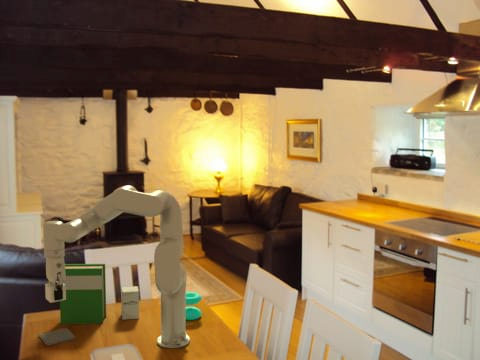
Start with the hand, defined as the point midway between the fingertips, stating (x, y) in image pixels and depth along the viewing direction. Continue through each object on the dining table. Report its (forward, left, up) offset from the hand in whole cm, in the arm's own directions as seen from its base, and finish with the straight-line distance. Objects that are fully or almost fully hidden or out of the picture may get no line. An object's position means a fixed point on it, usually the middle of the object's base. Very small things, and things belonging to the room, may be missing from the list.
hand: (55, 296), depth 198 cm
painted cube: (0, 0, -1) cm, 1 cm away
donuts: (-13, -54, -17) cm, 58 cm away
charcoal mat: (0, 0, -17) cm, 17 cm away
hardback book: (+11, -15, -17) cm, 25 cm away
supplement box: (+3, -33, -17) cm, 37 cm away
